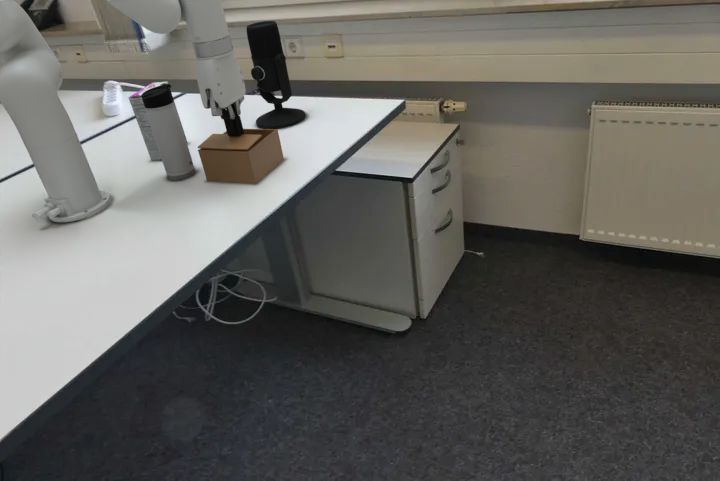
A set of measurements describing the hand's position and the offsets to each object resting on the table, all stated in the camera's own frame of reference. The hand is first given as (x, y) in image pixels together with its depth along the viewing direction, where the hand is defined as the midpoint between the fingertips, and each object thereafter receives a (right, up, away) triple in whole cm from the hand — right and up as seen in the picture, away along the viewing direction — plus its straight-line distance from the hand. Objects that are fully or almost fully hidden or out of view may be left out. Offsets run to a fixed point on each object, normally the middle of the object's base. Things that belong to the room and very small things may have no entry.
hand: (236, 134), depth 123 cm
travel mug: (-14, -8, +8) cm, 18 cm away
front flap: (-1, -2, -2) cm, 3 cm away
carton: (+1, -7, +5) cm, 9 cm away
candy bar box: (-22, -1, +22) cm, 31 cm away
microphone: (+5, +10, +32) cm, 34 cm away
